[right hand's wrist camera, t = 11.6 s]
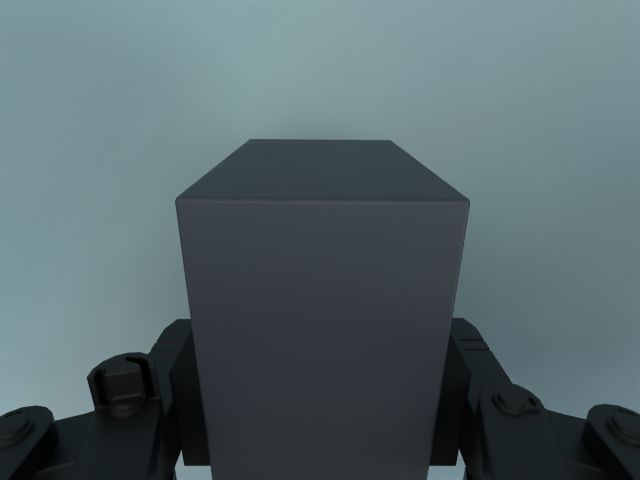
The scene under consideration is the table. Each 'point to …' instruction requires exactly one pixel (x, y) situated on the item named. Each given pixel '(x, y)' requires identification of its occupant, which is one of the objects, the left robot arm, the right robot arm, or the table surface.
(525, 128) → the table surface
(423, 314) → the beam
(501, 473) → the right robot arm
